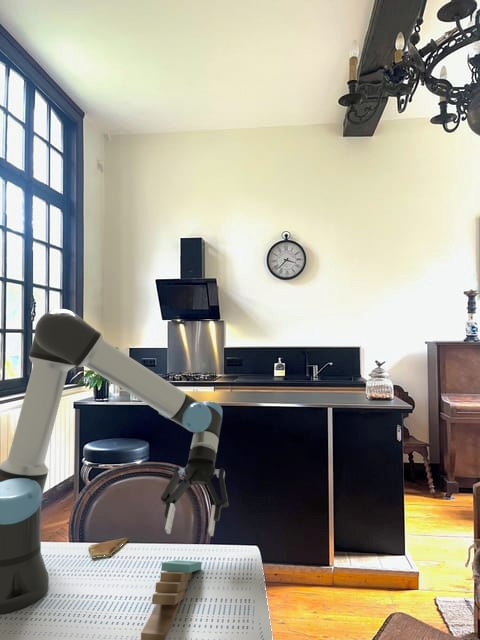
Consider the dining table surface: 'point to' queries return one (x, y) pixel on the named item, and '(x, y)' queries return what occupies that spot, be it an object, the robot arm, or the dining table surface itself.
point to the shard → (106, 547)
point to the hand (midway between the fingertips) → (189, 532)
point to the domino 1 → (181, 566)
